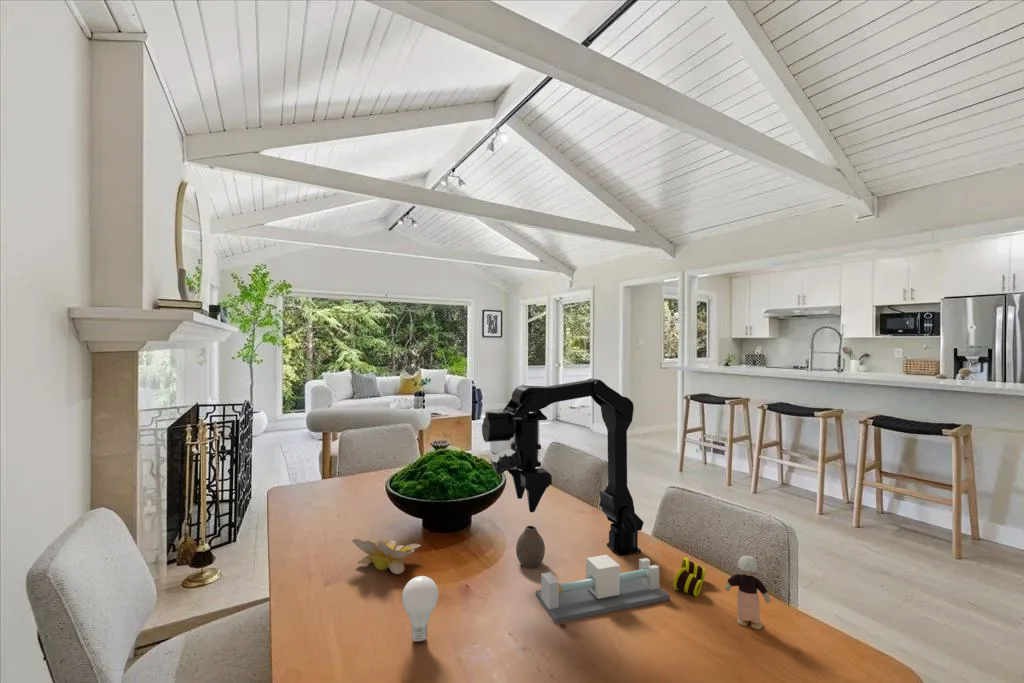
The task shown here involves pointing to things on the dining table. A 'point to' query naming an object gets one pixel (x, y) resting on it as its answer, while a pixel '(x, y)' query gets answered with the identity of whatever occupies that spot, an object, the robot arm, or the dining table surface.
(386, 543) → the decorative flower
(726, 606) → the dining table surface
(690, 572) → the opera glasses
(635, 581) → the linear slide rail
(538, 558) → the vase
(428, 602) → the lightbulb
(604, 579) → the white square tube
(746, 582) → the grandmother figurine
